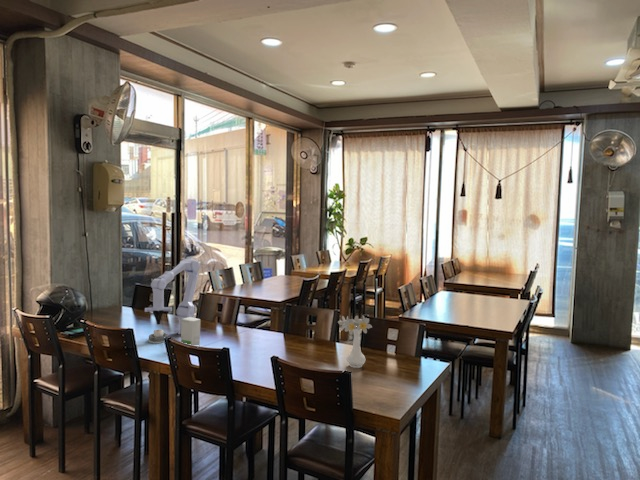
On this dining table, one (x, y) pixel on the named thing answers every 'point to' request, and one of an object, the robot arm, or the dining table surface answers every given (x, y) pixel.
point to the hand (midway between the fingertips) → (158, 324)
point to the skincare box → (190, 331)
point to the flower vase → (355, 339)
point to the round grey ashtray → (157, 338)
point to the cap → (158, 333)
